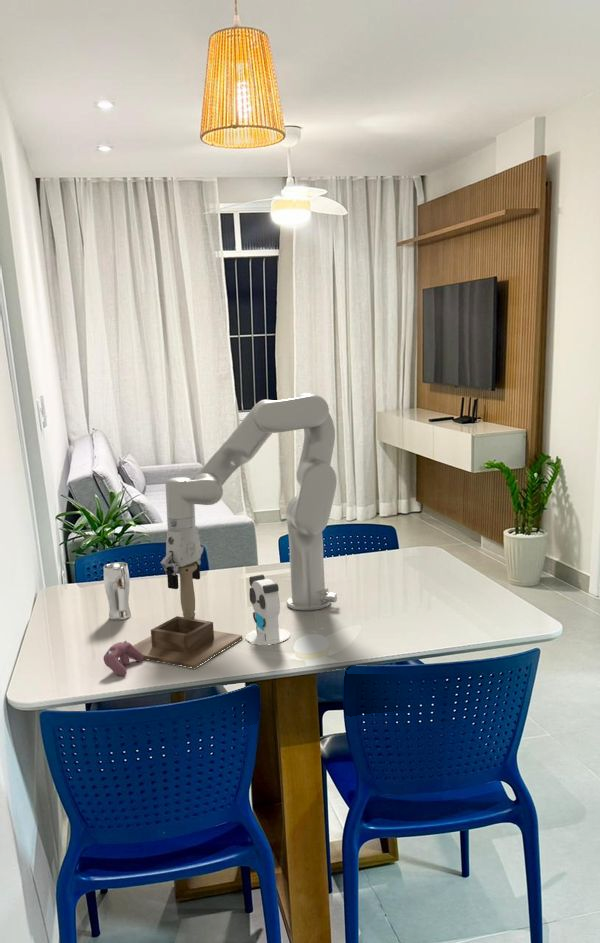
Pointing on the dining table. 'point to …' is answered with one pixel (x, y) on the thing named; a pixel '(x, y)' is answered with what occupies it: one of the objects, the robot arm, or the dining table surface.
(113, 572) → the beer glass
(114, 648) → the video game controller
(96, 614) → the dining table surface
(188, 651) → the holder
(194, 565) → the handle
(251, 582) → the panda figurine
